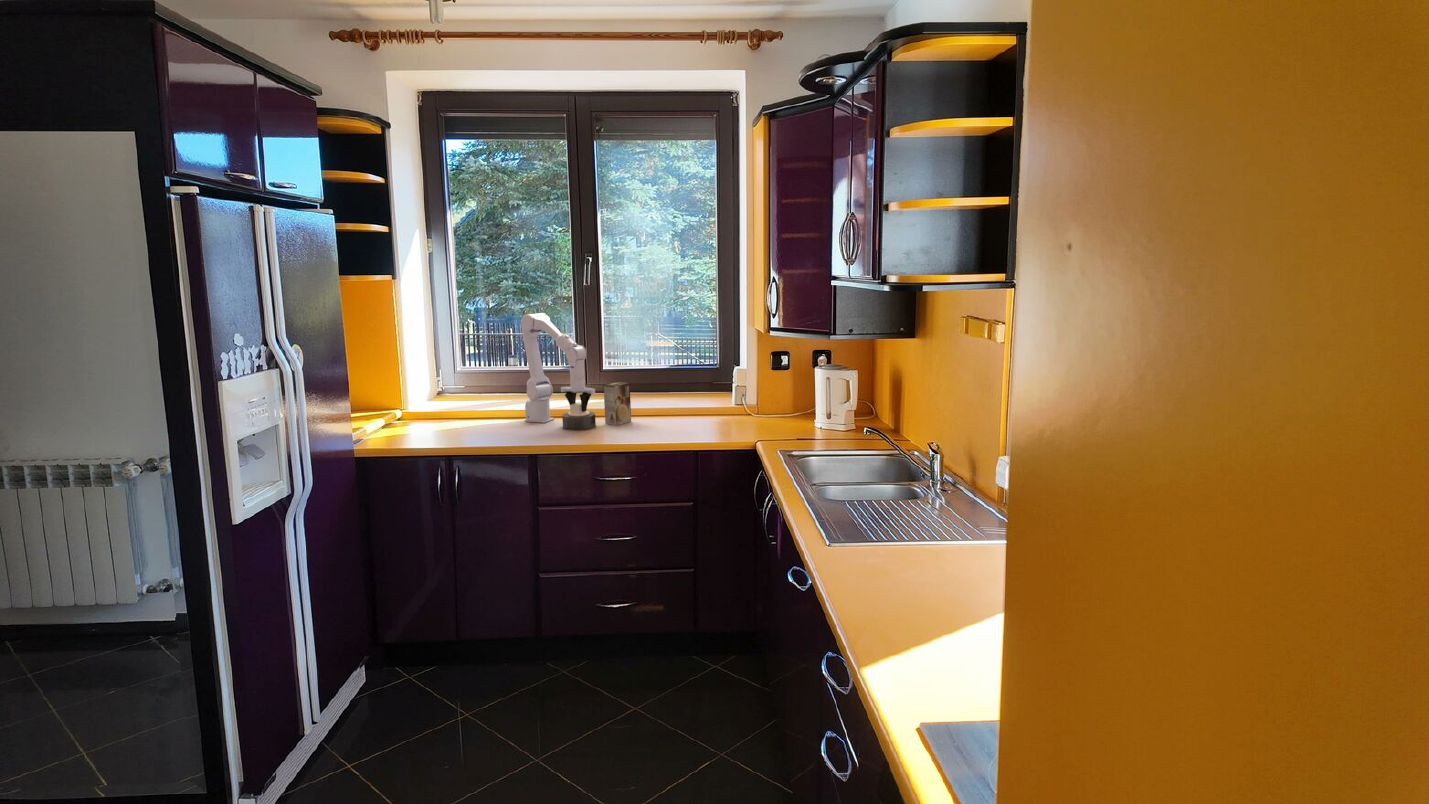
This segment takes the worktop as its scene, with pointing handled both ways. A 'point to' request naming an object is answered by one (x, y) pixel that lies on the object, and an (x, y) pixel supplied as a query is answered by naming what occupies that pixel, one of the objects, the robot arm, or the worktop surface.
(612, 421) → the coffee box
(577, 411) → the cap
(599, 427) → the worktop surface
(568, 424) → the dark grey thick ring
